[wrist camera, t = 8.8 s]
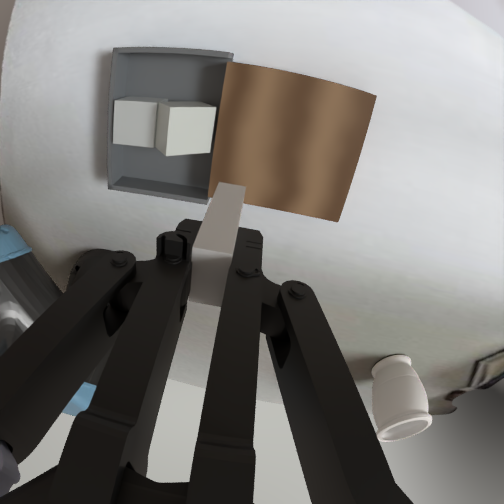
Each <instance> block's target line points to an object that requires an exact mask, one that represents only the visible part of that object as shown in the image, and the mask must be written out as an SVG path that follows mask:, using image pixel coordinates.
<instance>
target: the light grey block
mask: <svg viewBox="0 0 504 504" xmlns="http://www.w3.org/2000/svg"><path fill="white" fill-rule="evenodd" d="M158 102H168V99H166V98H153V97H136V96H127V97H124V98H121V99H118V100H115V104H114V124H113V144H122V145H132V146H141V147H150V148H154V147H155V133H156V121H157V110H158Z"/></svg>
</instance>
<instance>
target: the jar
mask: <svg viewBox="0 0 504 504" xmlns="http://www.w3.org/2000/svg"><path fill="white" fill-rule="evenodd" d="M371 373H372V376H373V377H374V381H373V386H372V410H373V415H374V419H375V422H376V425H377V427H378V431H377V433H376V435H377V438H378V440H380V441H386V442H388V441H397V440H402V439H405V438H408V437H411V436H414V435H416V434H418V433H420V432H422V431H423V430H425V429H426V428H428V427H429V426H430V425H431V423H432V417H431V415H430V414H428V401H427V395H426V392H425V389H424V387H423V384H422V383H421V381H420V379H419V376H418V374H417V373H416V371H415V370H414V369H413V368H412V367H411V359H410V358H409V357H408V356H406V355H393V356H389V357H387V358H384V359H382V360H381V361H379V362H378V363H377V364H376V365H375V366H374V367H373V368H372V372H371Z"/></svg>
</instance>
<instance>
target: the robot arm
mask: <svg viewBox="0 0 504 504" xmlns="http://www.w3.org/2000/svg"><path fill="white" fill-rule="evenodd" d="M245 190H246V187H245V186H240V185H234V184H228V183H222V182H219V183H218V186H217V188H216V190H215V193H214V195H213V197H212V200H211V202H210V205H209V207H208V210H207V212H206V214H205V217H204V219H203V221H197V220H191V219H185V220H183V221H182V222H180V223H179V224H178V226H177V228H176V230H175V231H169V232H164V233H162V234H160V235H159V236H158V237H157V256H156V258H155V259H153V260H148V261H136V258H135V256H134V255H133V254H132V253H130V252H128V251H114V252H112V251H108V250H92V251H89V252H87V253H85V254H83V255H82V256H81V257H80V258H79V260H78V261H77V262H76V264H75V265H74V266H73V268H72V271H71V274H70V277H69V281H68V285H67V289H66V292H65V293H62V292H61V290H60V289H59V288H58V287H57V285H56V284H55V283H54V282H53V280H52V279H51V278H50V276H49V275H48V274H47V273H46V271H45V270H44V268H43V267H42V266H41V264H40V263H39V261H38V260H37V259H36V257H35V256H34V254H33V253H32V248H31V247H28V245H27V244H26V243H25V241H24V240H23V239H22V237H21V236H20V234H19V233H18V232H17V230H16V229H15V228H14V227H12V226H11V225H1V226H0V504H254V503H253V492H254V479H255V478H254V477H255V461H256V455H255V450H254V448H253V435H254V421H255V405H256V390H257V374H258V357H259V340H260V332H261V333H264V334H266V340H267V344H268V348H269V351H270V355H271V359H272V362H273V366H274V370H275V373H276V377H277V381H278V384H279V388H280V392H281V395H282V399H283V403H284V406H285V410H286V413H287V417H288V421H289V424H290V428H291V432H292V435H293V439H294V442H295V446H296V449H297V453H298V456H299V460H300V464H301V467H302V471H303V474H304V478H305V481H306V485H307V488H308V492H309V495H310V499H311V502H312V504H413V502H412V501H411V500H410V499H409V498H408V497H407V496H406V494H404V492H403V491H402V490H401V489H400V488H399V486H397V484H396V483H395V481H394V478H393V476H392V473H391V470H390V468H389V465H388V463H387V460H386V458H385V455H384V453H383V450H382V448H381V445H380V443H379V440H378V438H377V435H376V433H375V431H374V428H373V426H372V423H371V421H370V418H369V416H368V413H367V411H366V408H365V406H364V404H363V401H362V399H361V397H360V394H359V392H358V390H357V387H356V385H355V383H354V380H353V378H352V376H351V373H350V371H349V369H348V366H347V364H346V362H345V360H344V357H343V355H342V353H341V351H340V348H339V346H338V344H337V342H336V339H335V337H334V335H333V333H332V330H331V328H330V326H329V324H328V322H327V319H326V317H325V315H324V313H323V311H322V309H321V306H320V304H319V302H318V300H317V298H316V296H315V294H314V292H313V290H312V289H311V287H309V286H308V285H307V284H305V283H302V282H300V281H294V280H291V281H286V282H284V283H283V284H282V285H281V286H280V285H278V284H275V283H273V282H271V281H270V280H268V279H267V278H266V277H265V276H264V275H263V272H262V269H261V267H262V248H263V236H262V235H261V233H260V231H258V230H253V229H247V228H242V227H239V223H240V218H241V212H242V206H243V201H244V195H245ZM188 296H189V301H192V302H197V303H202V304H208V305H213V306H219V307H221V311H220V316H219V322H218V327H217V332H216V337H215V343H214V348H213V353H212V359H211V364H210V370H209V375H208V381H207V386H206V392H205V397H204V403H203V409H202V414H201V420H200V426H199V432H198V437H197V441H196V446H195V451H194V457H193V463H192V469H191V475H190V481H189V482H178V483H158V482H154V481H152V480H150V479H148V478H146V474H147V467H148V453H149V448H150V444H151V440H152V436H153V432H154V428H155V423H156V419H157V415H158V412H159V408H160V404H161V400H162V396H163V392H164V389H165V385H166V381H167V377H168V374H169V370H170V366H171V363H172V359H173V355H174V352H175V348H176V345H177V341H178V338H179V334H180V331H181V327H182V324H183V320H184V317H185V314H186V310H187V300H188ZM61 412H63V413H66V414H69V415H72V416H76V417H75V419H74V421H73V424H72V426H71V429H70V432H69V435H68V437H67V440H66V443H65V446H64V449H63V452H62V455H61V458H60V461H59V464H58V465H56V466H55V467H53V468H51V469H49V470H48V471H46V472H44V473H43V474H41V475H39V476H37V477H36V478H34V479H32V480H31V481H29V482H27V483H25V484H23V485H22V486H20V487H18V488H16V489H15V490H13V491H11V492H9V490H10V488H11V486H12V485H13V484H16V483H18V482H19V480H20V473H19V471H18V464H19V463H21V462H22V461H23V460H24V459H26V457H28V456H29V455H30V453H32V452H33V450H34V449H35V448H36V447H37V445H38V444H39V443H40V441H41V440H42V439H43V437H44V436H45V434H46V433H47V432H48V430H49V429H50V427H51V426H52V424H53V423H54V422H55V420H56V419H57V418H58V416H59V415H60V414H61Z"/></svg>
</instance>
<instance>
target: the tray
mask: <svg viewBox="0 0 504 504" xmlns="http://www.w3.org/2000/svg"><path fill="white" fill-rule="evenodd" d="M233 55H234V54H233V53H230V52H222V51H213V50H202V49H188V48H167V47H122V48H113V56H112V65H111V76H110V89H109V105H108V132H107V171H108V189H110V190H117V191H124V192H131V193H137V194H144V195H150V196H157V197H163V198H169V199H175V200H181V201H187V202H193V203H199V204H205V205H207V203H208V201H209V199H210V197H208V190H209V182H210V174H211V166H212V158H213V151H214V144H215V137H216V130H217V123H218V116H219V110H220V103H221V97H222V91H223V84H224V78H225V73H226V67H227V62H232V61H233ZM127 96H136V97H153V98H166V99H168V102H169V101H201V102H204V103H206V104H209V105H212V106H214V107H216V114H215V121H214V128H213V134H212V142H211V149H210V153H198V154H186V155H174V156H165V155H164V154H163V153H161V152H160V151H159V150H158V149H157V148H156V147H154V148H150V147H141V146H132V145H122V144H113V124H114V104H115V100H118V99H121V98H124V97H127Z"/></svg>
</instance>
